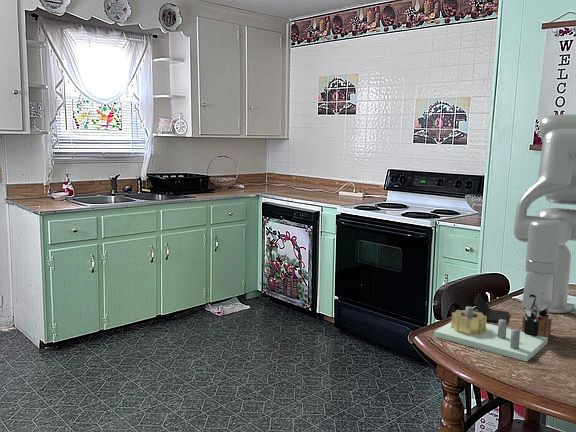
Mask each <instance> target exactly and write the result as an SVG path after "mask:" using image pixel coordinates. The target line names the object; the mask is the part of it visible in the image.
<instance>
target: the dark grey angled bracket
mask: <svg viewBox="0 0 576 432" xmlns="http://www.w3.org/2000/svg"><path fill="white" fill-rule="evenodd" d="M473 304H474V306H475V308H476V309H477V311H478V312H481V313H483V315H484V316H487V320H486V323H490V322H491V323H490V324H497V323H499V320H500V319H503V320H506V321H507V322H508V318H509V314H510V312H509V311H506V310H498V309H491V307H489V305H488V303H487V302H486V301H485V299H484V298H483V297H482V295H481V294H480V293H478V294H477V296H476V298H475V300H474V302H473Z"/></svg>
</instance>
